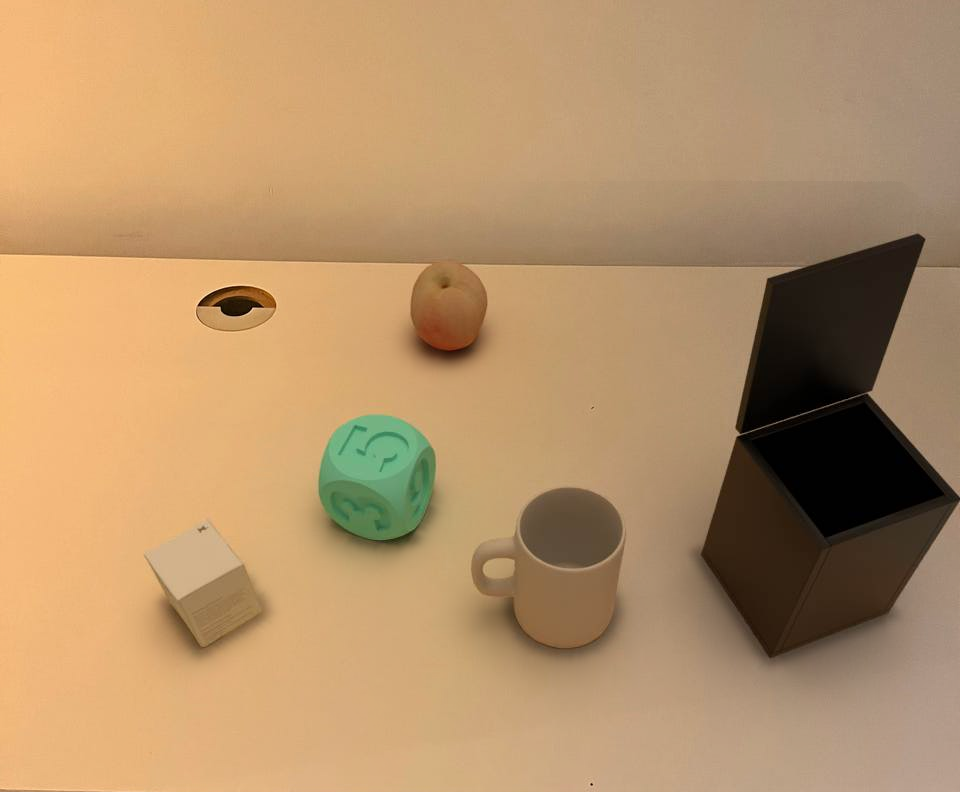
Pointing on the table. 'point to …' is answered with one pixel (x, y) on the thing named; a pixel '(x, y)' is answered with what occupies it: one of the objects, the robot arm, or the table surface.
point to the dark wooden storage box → (823, 522)
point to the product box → (204, 582)
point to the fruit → (448, 305)
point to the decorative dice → (377, 476)
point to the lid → (825, 332)
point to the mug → (560, 565)
